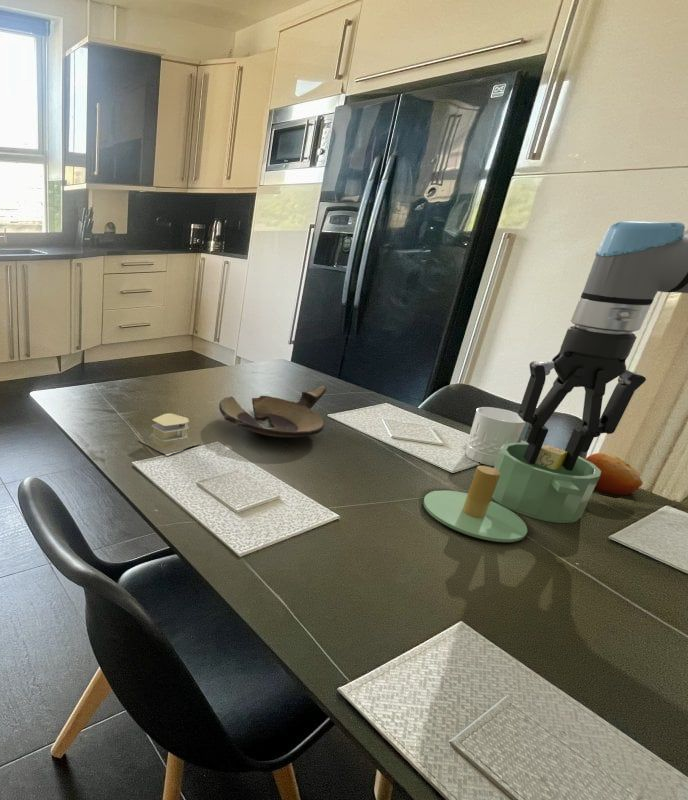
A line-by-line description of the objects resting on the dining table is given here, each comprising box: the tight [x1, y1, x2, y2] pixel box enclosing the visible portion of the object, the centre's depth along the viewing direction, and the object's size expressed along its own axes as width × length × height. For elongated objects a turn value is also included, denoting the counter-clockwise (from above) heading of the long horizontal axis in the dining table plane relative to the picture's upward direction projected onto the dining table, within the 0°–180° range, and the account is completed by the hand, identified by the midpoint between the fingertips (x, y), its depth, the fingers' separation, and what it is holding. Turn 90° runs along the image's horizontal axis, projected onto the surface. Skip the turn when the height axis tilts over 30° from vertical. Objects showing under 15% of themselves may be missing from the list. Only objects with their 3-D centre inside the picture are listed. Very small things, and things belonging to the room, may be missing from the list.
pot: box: [491, 440, 601, 524], centre depth 84 cm, size 13×18×8 cm
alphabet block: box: [535, 444, 568, 470], centre depth 82 cm, size 3×3×3 cm
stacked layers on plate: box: [150, 412, 190, 448], centre depth 104 cm, size 10×9×6 cm
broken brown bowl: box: [218, 385, 328, 438], centre depth 111 cm, size 22×30×8 cm
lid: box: [422, 465, 528, 543], centre depth 78 cm, size 14×14×9 cm
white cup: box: [465, 406, 527, 467], centre depth 98 cm, size 8×8×10 cm
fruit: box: [584, 452, 644, 499], centre depth 88 cm, size 8×8×8 cm
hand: (547, 463), depth 82 cm, fingers closed on alphabet block, 4 cm apart
